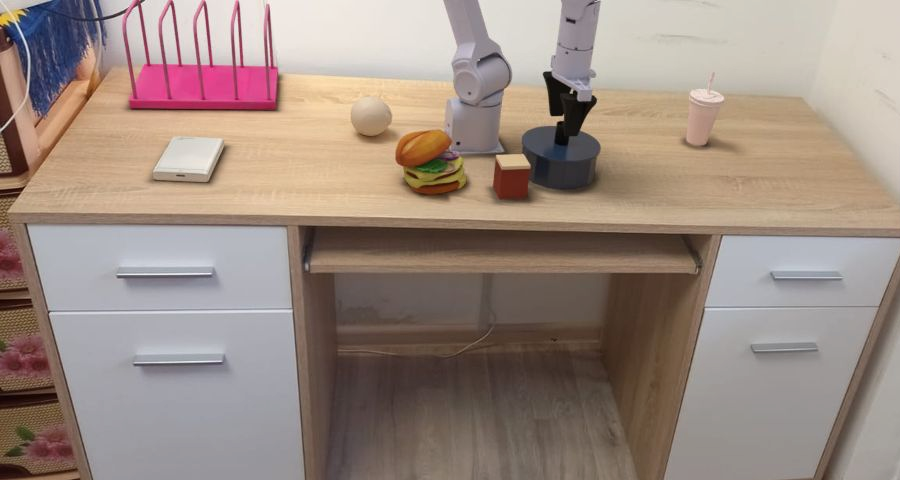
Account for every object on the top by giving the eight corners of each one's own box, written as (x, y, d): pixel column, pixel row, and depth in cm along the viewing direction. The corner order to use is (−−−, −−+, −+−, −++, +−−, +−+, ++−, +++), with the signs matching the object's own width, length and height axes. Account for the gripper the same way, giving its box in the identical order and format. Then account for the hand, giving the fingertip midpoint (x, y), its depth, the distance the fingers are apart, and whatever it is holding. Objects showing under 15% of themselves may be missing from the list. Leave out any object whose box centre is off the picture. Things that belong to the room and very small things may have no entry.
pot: (532, 194, 134) (536, 163, 131) (511, 159, 144) (515, 130, 141) (603, 190, 138) (608, 161, 134) (578, 157, 147) (583, 128, 144)
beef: (498, 201, 131) (502, 166, 128) (492, 189, 135) (495, 154, 131) (526, 200, 133) (530, 165, 129) (519, 188, 136) (523, 153, 132)
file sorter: (145, 72, 161) (132, -10, 152) (278, 74, 166) (273, -5, 157) (129, 109, 147) (114, 21, 138) (275, 110, 152) (270, 25, 143)
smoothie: (716, 141, 158) (734, 71, 151) (708, 154, 153) (726, 82, 146) (683, 133, 160) (699, 63, 152) (674, 145, 155) (691, 73, 148)
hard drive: (172, 135, 137) (151, 170, 126) (224, 138, 137) (207, 172, 127) (174, 144, 137) (153, 180, 127) (224, 147, 138) (208, 182, 128)
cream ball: (394, 141, 146) (395, 105, 142) (352, 142, 144) (352, 106, 140) (389, 125, 151) (390, 90, 147) (348, 126, 149) (348, 91, 146)
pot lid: (533, 168, 131) (537, 142, 129) (511, 132, 142) (514, 108, 139) (611, 165, 135) (616, 140, 132) (584, 130, 145) (588, 106, 143)
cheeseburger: (459, 203, 129) (447, 144, 124) (395, 205, 132) (381, 148, 127) (474, 173, 138) (463, 117, 132) (413, 176, 140) (400, 122, 135)
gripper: (616, 61, 124) (601, 144, 131) (584, 28, 135) (572, 106, 143) (571, 61, 122) (559, 145, 129) (542, 28, 133) (533, 107, 141)
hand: (563, 125), depth 136 cm, fingers open, 7 cm apart
